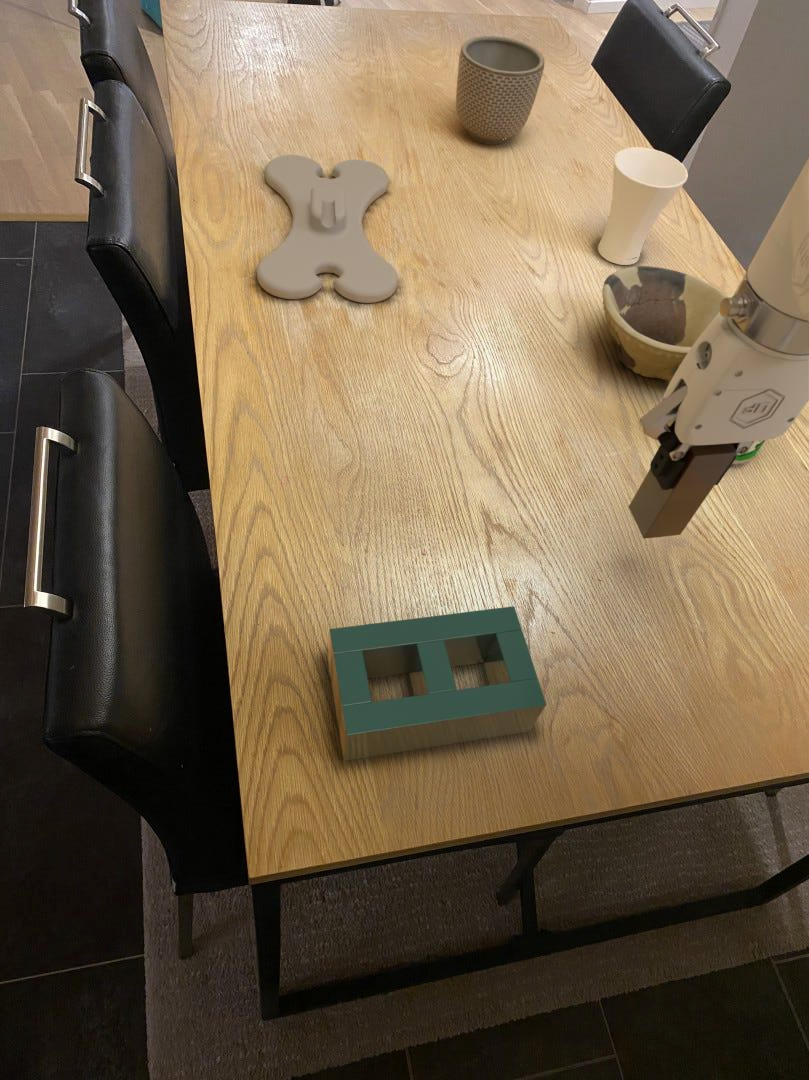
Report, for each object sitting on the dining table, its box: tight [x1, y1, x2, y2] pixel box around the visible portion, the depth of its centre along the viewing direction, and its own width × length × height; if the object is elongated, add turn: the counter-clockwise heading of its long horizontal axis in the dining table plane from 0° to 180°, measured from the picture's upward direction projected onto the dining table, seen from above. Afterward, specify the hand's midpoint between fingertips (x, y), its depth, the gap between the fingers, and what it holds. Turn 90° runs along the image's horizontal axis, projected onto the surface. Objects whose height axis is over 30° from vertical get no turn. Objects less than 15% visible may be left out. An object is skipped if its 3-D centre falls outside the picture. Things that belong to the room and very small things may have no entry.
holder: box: [256, 154, 399, 304], centre depth 109 cm, size 19×34×5 cm, turn 4°
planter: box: [455, 35, 545, 146], centre depth 128 cm, size 14×14×13 cm
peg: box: [628, 443, 737, 539], centre depth 70 cm, size 4×4×12 cm
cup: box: [597, 146, 689, 266], centre depth 111 cm, size 10×10×14 cm
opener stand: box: [327, 605, 547, 762], centre depth 68 cm, size 10×17×6 cm, turn 101°
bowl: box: [601, 265, 729, 383], centre depth 98 cm, size 18×18×10 cm
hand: (683, 474), depth 69 cm, fingers closed on peg, 4 cm apart
